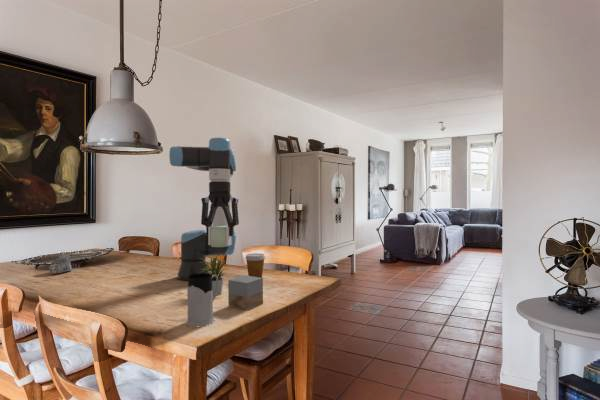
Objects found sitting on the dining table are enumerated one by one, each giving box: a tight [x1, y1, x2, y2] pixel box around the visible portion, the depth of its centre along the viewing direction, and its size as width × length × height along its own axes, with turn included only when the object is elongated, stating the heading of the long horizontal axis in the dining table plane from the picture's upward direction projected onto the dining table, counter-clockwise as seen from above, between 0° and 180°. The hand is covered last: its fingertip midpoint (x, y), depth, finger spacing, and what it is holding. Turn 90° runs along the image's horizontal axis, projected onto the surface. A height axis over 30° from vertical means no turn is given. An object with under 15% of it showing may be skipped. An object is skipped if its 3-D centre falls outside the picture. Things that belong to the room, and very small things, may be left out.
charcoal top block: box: [227, 274, 264, 297], centre depth 134 cm, size 9×9×5 cm
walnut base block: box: [227, 290, 264, 311], centre depth 134 cm, size 9×9×5 cm
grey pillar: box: [186, 273, 218, 328], centre depth 118 cm, size 9×14×15 cm, turn 159°
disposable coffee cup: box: [245, 252, 266, 278], centre depth 175 cm, size 10×10×12 cm
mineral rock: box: [48, 253, 73, 275], centre depth 190 cm, size 13×11×10 cm
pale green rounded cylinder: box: [211, 225, 228, 247], centre depth 130 cm, size 6×6×7 cm
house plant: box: [199, 255, 229, 296], centre depth 149 cm, size 14×14×16 cm
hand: (220, 244), depth 130 cm, fingers closed on pale green rounded cylinder, 6 cm apart
